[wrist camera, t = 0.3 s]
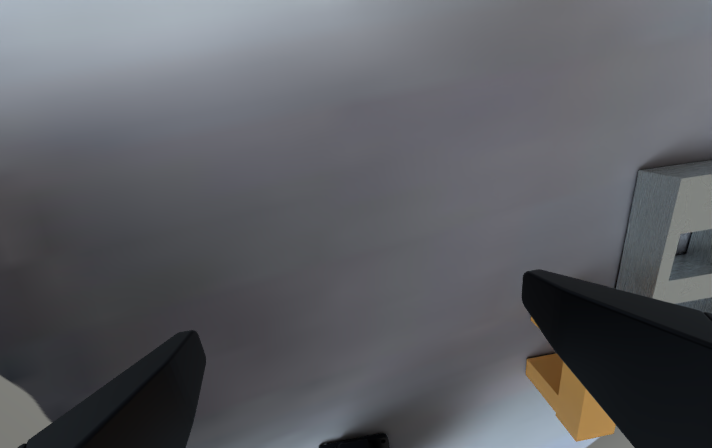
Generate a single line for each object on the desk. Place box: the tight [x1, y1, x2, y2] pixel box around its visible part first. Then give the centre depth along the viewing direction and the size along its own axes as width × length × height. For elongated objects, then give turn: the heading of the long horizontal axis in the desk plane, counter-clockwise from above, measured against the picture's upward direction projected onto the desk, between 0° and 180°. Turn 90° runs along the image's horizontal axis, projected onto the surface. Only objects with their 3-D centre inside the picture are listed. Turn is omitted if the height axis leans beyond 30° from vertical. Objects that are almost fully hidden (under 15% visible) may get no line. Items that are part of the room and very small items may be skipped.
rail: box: [616, 160, 712, 313], centre depth 26 cm, size 18×7×3 cm, turn 6°
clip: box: [526, 317, 616, 442], centre depth 26 cm, size 8×3×6 cm, turn 6°
